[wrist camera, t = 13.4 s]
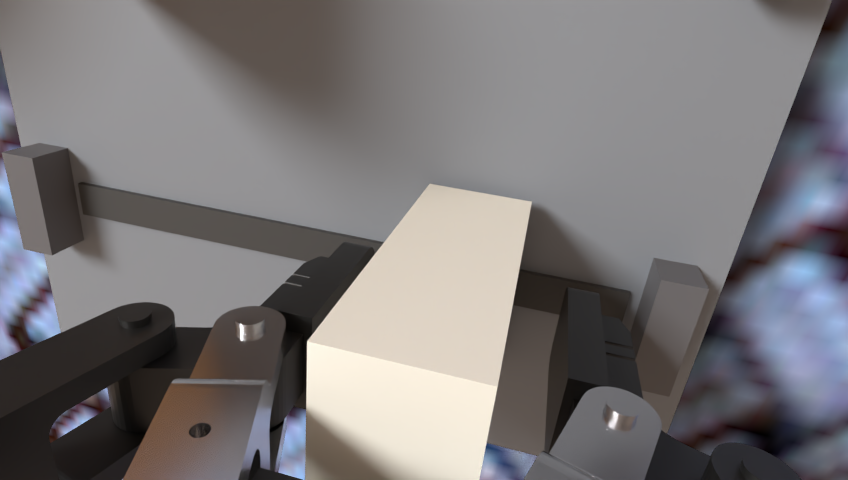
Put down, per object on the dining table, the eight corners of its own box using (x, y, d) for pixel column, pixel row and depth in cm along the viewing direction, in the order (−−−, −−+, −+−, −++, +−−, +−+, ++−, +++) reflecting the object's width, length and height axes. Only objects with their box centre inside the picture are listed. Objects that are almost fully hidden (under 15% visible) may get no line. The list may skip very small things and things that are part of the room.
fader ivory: (532, 201, 13) (497, 386, 7) (498, 370, 15) (448, 632, 9) (429, 183, 13) (306, 341, 7) (411, 350, 15) (303, 586, 9)
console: (955, -459, 9) (1131, -668, 6) (639, 435, 17) (653, 519, 15) (-20, -427, 13) (-192, -553, 10) (104, 305, 21) (30, 352, 18)
